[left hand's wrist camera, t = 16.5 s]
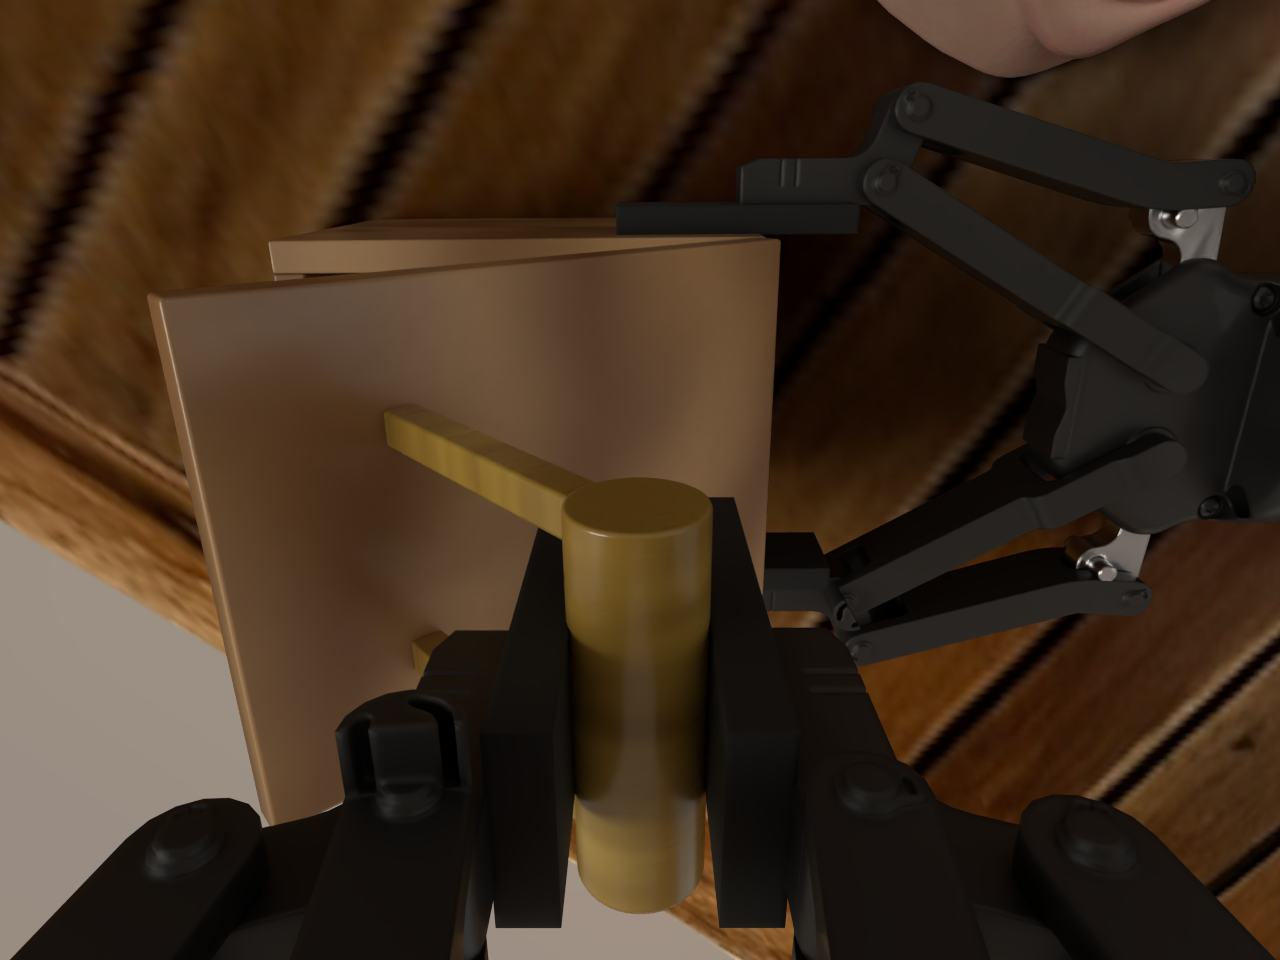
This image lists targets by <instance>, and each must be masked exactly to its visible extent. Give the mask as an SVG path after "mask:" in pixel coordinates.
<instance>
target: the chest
mask: <svg viewBox="0 0 1280 960" xmlns="http://www.w3.org/2000/svg"><path fill="white" fill-rule="evenodd" d="M756 237H758V238H766V237H764V236H763V235H761V234H670V235H616V217H602V218H489V219H377V220H372V221H367V222H362V223H357V224H352V225H347V226H342V227H336V228H331V229H326V230H321V231H316V232H311V233H306V234H301V235H296V236H291V237H286V238H281V239H276V240H271V241H269V243H268V244H269V250H270V256H271V262H272V268H273V272H274V273H275V275H274V279H275V281H279V280H290V279H302V278H313V277H324V276H335V275H346V274H357V273H368V272H379V271H390V270H401V269H412V268H423V267H435V266H446V265H457V264H468V263H479V262H490V261H501V260H512V259H523V258H534V257H545V256H556V255H567V254H579V253H590V252H601V251H612V250H623V249H634V248H645V247H656V246H667V245H678V244H689V243H700V242H712V241H723V240H734V239H745V238H756Z"/></svg>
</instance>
